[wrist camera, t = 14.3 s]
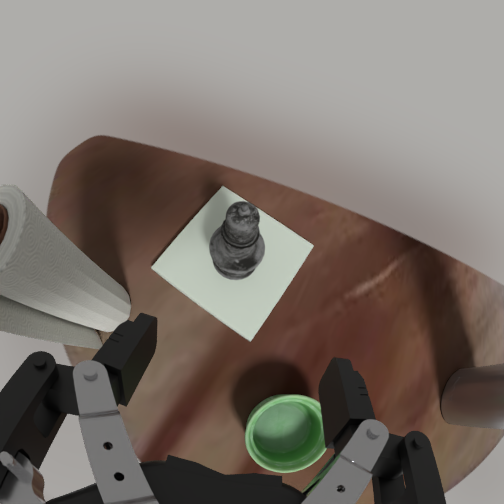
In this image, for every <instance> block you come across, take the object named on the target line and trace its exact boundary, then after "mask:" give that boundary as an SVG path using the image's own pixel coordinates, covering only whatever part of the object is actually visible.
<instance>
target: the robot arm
mask: <svg viewBox="0 0 504 504" xmlns="http://www.w3.org/2000/svg"><path fill="white" fill-rule="evenodd" d="M156 344H157V318H156V317H153V316H150V315H147V314H144V313H140V314H139V315H138V317H137V318H136V319H135V321H134V322H132V321H129V320H127V321H125V322H123V323H121V324H119V325H118V326H117V328H116V329H115V330H114V332H113V333H112V334H111V335H110V337H109V339H107V340H106V342H105V343H104V344H103V346H102V347H101V348H100V350H99V351H98V352H97V353H96V355H95V356H94V357H93V359H92V360H87V361H83V362H80V363H79V364H77V365H76V366H75V367H73V366H66V365H61V364H56V362H55V359H54V357H53V356H52V355H51V354H49V353H47V352H42V351H39V352H35V353H32V354H31V355H29V356H28V357H27V359H26V360H25V361H24V363H23V364H22V365H21V366H20V367H19V369H18V370H17V371H16V372H15V374H14V375H13V376H12V377H11V379H10V380H9V381H8V383H7V384H6V385H5V386H4V388H3V389H2V391H1V392H0V503H1V504H355V503H356V502H357V500H358V499H359V497H360V496H361V494H362V492H363V491H364V489H365V488H366V486H367V484H368V483H369V481H370V479H371V478H372V483H373V492H374V502H375V504H446V501H445V497H444V492H443V487H442V483H441V479H440V476H439V472H438V468H437V464H436V461H435V457H434V454H433V451H432V447H431V444H430V441H429V439H428V438H427V436H426V435H425V434H423V433H421V432H419V431H411V432H409V433H408V434H407V435H406V436H405V437H401V436H397V435H393V434H390V433H388V430H387V428H386V426H385V425H384V424H383V423H381V422H379V421H377V420H376V419H375V415H374V412H373V408H372V405H371V401H370V398H369V396H368V391H367V389H366V385H365V382H364V379H363V378H362V376H361V375H360V374H359V373H358V371H353V368H352V364H351V361H350V360H349V359H342V358H335V357H334V358H333V359H332V360H331V362H330V364H329V366H328V367H327V369H326V371H325V373H324V375H323V377H322V379H321V381H320V384H319V399H320V407H321V415H322V423H323V431H324V440H325V448H334V450H335V454H334V455H333V456H332V457H331V458H330V459H329V461H328V462H327V463H326V464H325V466H324V467H323V468H322V469H321V470H320V472H319V473H318V474H317V475H316V476H315V478H314V479H313V480H312V481H311V482H310V483H309V484H308V485H307V486H306V487H305V488H304V489H303V490H302V491H301V492H300V491H299V490H297V489H295V488H294V487H292V486H290V485H287V484H285V483H282V476H275V475H265V474H257V473H251V474H235V475H225V474H221V473H219V472H216V471H214V470H212V469H210V468H207V467H205V466H203V465H201V464H199V463H196V462H193V461H189V460H185V459H181V458H178V457H174V456H171V455H168V457H167V460H166V461H161V460H160V461H147V462H142V463H139V462H138V460H137V458H136V455H135V453H134V450H133V448H132V445H131V443H130V440H129V438H128V435H127V432H126V429H125V427H124V424H123V421H122V418H121V415H120V412H119V411H118V409H117V406H118V404H121V405H124V406H126V407H127V405H128V403H129V401H130V399H131V397H132V395H133V393H134V391H135V389H136V387H137V385H138V383H139V382H140V380H141V378H142V376H143V374H144V372H145V370H146V368H147V366H148V365H149V363H150V361H151V359H152V357H153V355H154V353H155V349H156ZM441 411H442V415H443V418H444V420H445V421H446V422H447V423H449V424H453V425H461V426H469V427H479V428H493V429H504V363H503V364H497V365H490V366H482V367H473V368H463V369H459V370H457V371H456V372H455V373H454V374H453V375H452V376H451V377H450V379H449V380H448V382H447V384H446V386H445V389H444V392H443V396H442V402H441ZM67 414H73V415H79V423H80V427H81V432H82V436H83V440H84V444H85V448H86V451H87V455H88V458H89V462H90V465H91V468H92V471H93V475H94V477H95V480H96V483H94V484H92V485H90V486H87V487H84V488H82V489H80V490H77V491H74V492H71V493H69V494H66V495H63V496H60V497H57V498H54V499H51V500H49V501H47V502H45V500H44V496H43V489H44V479H43V476H42V474H41V473H40V472H39V468H40V466H41V464H42V462H43V460H44V458H45V456H46V454H47V452H48V450H49V447H50V446H51V444H52V442H53V440H54V438H55V436H56V434H57V432H58V430H59V428H60V426H61V424H62V423H63V421H64V419H65V417H66V415H67ZM403 475H404V479H403ZM404 480H405V485H406V489H405V485H404Z"/></svg>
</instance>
